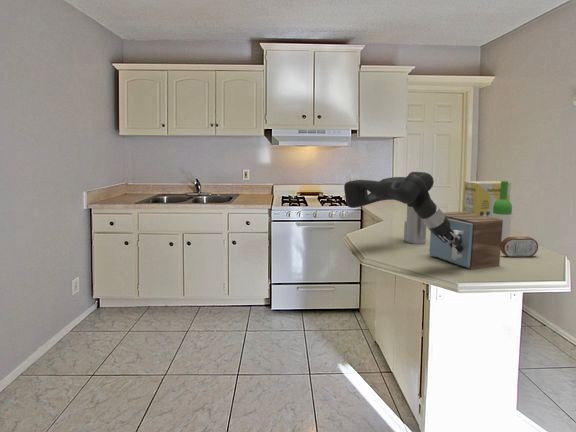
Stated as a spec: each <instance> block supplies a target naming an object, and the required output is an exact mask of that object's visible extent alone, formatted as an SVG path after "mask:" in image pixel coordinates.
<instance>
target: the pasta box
mask: <svg viewBox="0 0 576 432" xmlns="http://www.w3.org/2000/svg"><path fill="white" fill-rule="evenodd" d="M511 187H512V182H508V192H507V199H508V200H509V201H510V202H511V190H512V189H511ZM500 189H501V181H500V180H499V181H498V180H492V181H491V180H487V181H486V180H484V181H483V180H480V181H479V180H478V181H477V180H476V181H474V180H473V181H464V182H463V192H462V193H463V194H462V210H461V212H466V213H471V214H476V215H481V216H486V217H491V218H492V217H493V206H494V203H495V202H496V201H497V200H499V198H500Z"/></svg>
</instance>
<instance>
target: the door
mask: <svg viewBox="0 0 576 432" xmlns="http://www.w3.org/2000/svg"><path fill="white" fill-rule="evenodd" d="M447 219H448V218H447ZM448 220H449V221H450V223H451V225H450V229H452V230H453V231H454V233H455V234H456V235H458V234H461V236H462V243H461V246H462V247H463V248H464V249H463V250H462V252H461V253H460V252H458V251H457V249H456V248H455V247H454V246H453V245H452V248H451V246H450V245H448V244H447V243H444V242H443V241H441V240H440V239H439V238H438V237H436V236H435V235H434V234H432V232H431V231H430V236H429V237H430V239H429V255H430V256H432V255H433V256H432V257H434V256H435V258H437V257H438V258H437V259H440V258H441V259H440V260H442V259H444V260H443V261H445V260H447V261H446V262H448V261H450V262H449V263H451V262H453V263H452V264H454V263H456V264H455V265H457V264H459V265H458V266H460V265H462V266H461V267H463V266H465V267H464V268H466V267H470V260H471V246H472V232H473V224H471V223H466V222H462V221H457V220H452V219H448ZM454 243H455V241H454Z"/></svg>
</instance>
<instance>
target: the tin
mask: <svg viewBox="0 0 576 432" xmlns="http://www.w3.org/2000/svg"><path fill="white" fill-rule="evenodd" d="M538 250H539V243H538V242H537V240H536V239H534V238H533V237H531V236H510V237H507V238H505V239H504V240H503V241H502V243H501V251H500V253H502V254H503V255H504V256H507V257H508V258H531V257H533V256H535V255H536V253H537V252H538Z"/></svg>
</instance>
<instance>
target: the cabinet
mask: <svg viewBox="0 0 576 432" xmlns="http://www.w3.org/2000/svg"><path fill="white" fill-rule="evenodd" d="M443 213H444V215H445V216H446V217H447V218H448V219H452V220H457V221H462V222H466V223H471V224H473V232H472V246H471V260H470V267H465V266H462V265H459V264H456V263H453V262H450V261H447V260H444V259H443V261H446V262H448V263H451V264H455V265H457V266H460V267H462V268H463V267H464V268H466V269H469V270H477V269H483V268H484V269H485V268H491V267H492V268H493V267H499V266H500V263H501V261H500V260H501V239H502V226H503V220H502V219H497V218H491V217H486V216H481V215H476V214H471V213H466V212H462V211H450V212H443ZM431 257H434V256H433V255H431ZM439 259H440V260H442V259H441V258H439Z"/></svg>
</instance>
